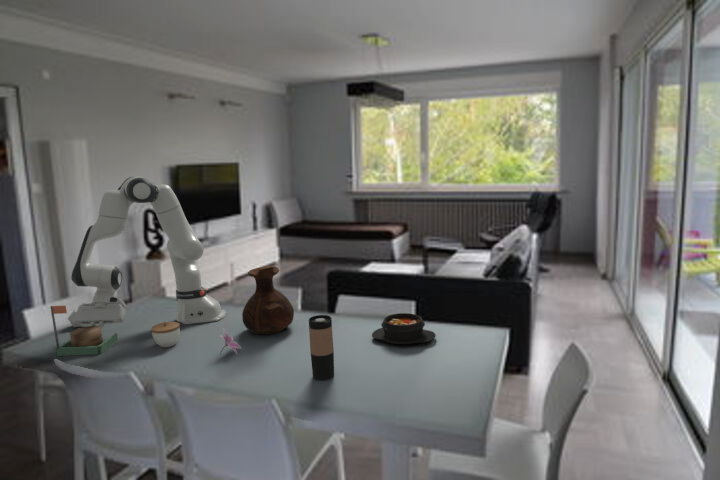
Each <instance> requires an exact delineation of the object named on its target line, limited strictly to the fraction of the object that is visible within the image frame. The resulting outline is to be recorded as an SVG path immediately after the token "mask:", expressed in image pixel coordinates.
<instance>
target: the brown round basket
mask: <svg viewBox="0 0 720 480" xmlns="http://www.w3.org/2000/svg"><path fill="white" fill-rule="evenodd" d="M102 332H103V331H102V329H101V327H99V325H96V326H90V325H88V326H87V325H86V326H85V327H77V328H76V329H74V330H73V329H72V331H70V332H69V338H70V339H71V344H72V347H84V346H99V345H100V344H101V343H103V342H104V341H103V334H102Z"/></svg>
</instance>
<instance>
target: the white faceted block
mask: <svg viewBox="0 0 720 480" xmlns="http://www.w3.org/2000/svg"><path fill="white" fill-rule="evenodd" d="M77 310H78V308H75V309H73V311H72V312H71V314H70V315H69V316H68V317H67V320H68V321H69V323H70V324H71V325H72V327H73V328H82V327H87V325H88V324H84V325H77V324H76V323H75V322H74V320H73V319H74V316H75V314H76V312H77Z"/></svg>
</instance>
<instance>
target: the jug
mask: <svg viewBox="0 0 720 480" xmlns="http://www.w3.org/2000/svg"><path fill="white" fill-rule="evenodd" d="M279 272H280V269H279V267H278V266H275V265H269V266H268V265H267V266H261V267H256V268H253V269H250V270H248V272H247V274H248V276H249V277H251V278H252V277H253V278H254V280H255V287H256V288H255V292H254V293H253V294H252V295H251V296H250V298H248V300H247V301H246V303H245V305H244V307H243V310H242V313H241V314H242V315H241V316H242V322H243V326H245V328H246V330H249V331H250V332H252V333H253V334H257V335H271V334H276V333H280V332H281V331H283V330H284V329H286V328H288V327H289V326H290V325H291V324H292V322H293V320H294V315H295V314H294V313H295V311H294V307H293V305H292V303H291V302H290V300H289V299H288V297H287V296H286V295H285V294H284V293H282V292H281V291H280V290H278V289H276V288H275V287H274V281H273V279H274V276H276V275H277V274H278V273H279Z"/></svg>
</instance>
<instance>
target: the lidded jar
mask: <svg viewBox="0 0 720 480" xmlns="http://www.w3.org/2000/svg"><path fill="white" fill-rule="evenodd" d="M180 326H181V325H180V322H178V321H164V322H161V323H160V322H159V323H156V324H155V325H153V326H152V327H150V328H151V329H150V330H151V335H152V339H153V341H154V342H155V344H156V345H158V346H159V348H168V347H169V348H170V347H172V346H175V345H176V343H177V342H178V340H179V338H180V334H181V333H180V332H181V330H180V329H181V328H180Z"/></svg>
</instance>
